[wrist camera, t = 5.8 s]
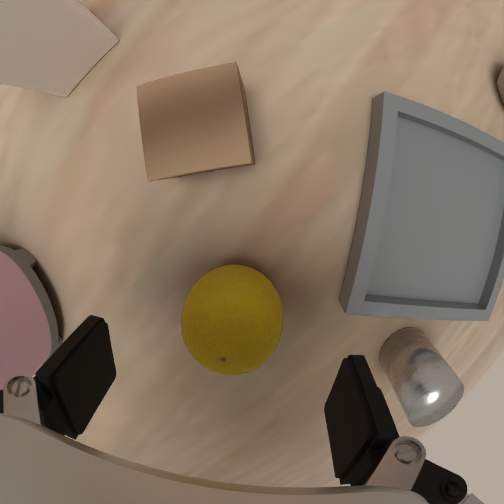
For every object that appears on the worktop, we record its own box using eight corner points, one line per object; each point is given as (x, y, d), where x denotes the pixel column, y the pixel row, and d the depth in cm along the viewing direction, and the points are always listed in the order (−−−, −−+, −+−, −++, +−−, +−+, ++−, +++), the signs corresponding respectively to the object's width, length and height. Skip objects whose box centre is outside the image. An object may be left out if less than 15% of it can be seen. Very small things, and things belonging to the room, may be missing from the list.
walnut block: (255, 164, 17) (251, 163, 13) (178, 177, 18) (148, 181, 13) (244, 89, 16) (236, 62, 11) (168, 104, 16) (136, 86, 12)
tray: (476, 310, 19) (488, 320, 17) (338, 300, 20) (345, 313, 18) (510, 155, 15) (525, 156, 13) (372, 98, 16) (384, 91, 14)
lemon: (280, 248, 19) (289, 304, 11) (279, 323, 20) (285, 403, 13) (195, 249, 19) (152, 302, 11) (203, 322, 21) (174, 398, 13)
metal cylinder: (413, 369, 21) (444, 422, 15) (372, 370, 21) (398, 430, 15) (432, 327, 20) (473, 377, 13) (389, 325, 20) (426, 382, 13)
